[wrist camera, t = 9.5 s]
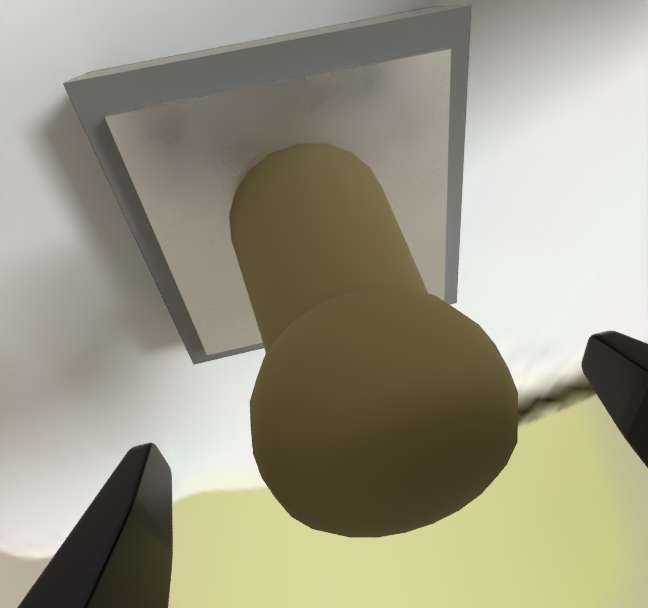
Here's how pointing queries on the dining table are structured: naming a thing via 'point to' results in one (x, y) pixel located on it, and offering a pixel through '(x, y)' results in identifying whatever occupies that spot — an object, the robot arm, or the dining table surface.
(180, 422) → the dining table surface
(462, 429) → the cork
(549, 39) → the dining table surface
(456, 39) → the kitchen scale
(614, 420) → the robot arm
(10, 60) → the dining table surface
